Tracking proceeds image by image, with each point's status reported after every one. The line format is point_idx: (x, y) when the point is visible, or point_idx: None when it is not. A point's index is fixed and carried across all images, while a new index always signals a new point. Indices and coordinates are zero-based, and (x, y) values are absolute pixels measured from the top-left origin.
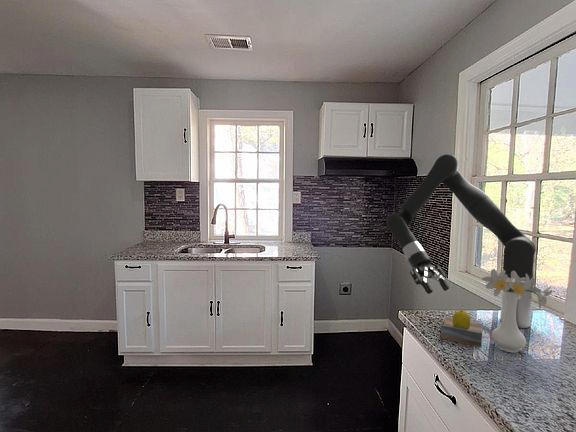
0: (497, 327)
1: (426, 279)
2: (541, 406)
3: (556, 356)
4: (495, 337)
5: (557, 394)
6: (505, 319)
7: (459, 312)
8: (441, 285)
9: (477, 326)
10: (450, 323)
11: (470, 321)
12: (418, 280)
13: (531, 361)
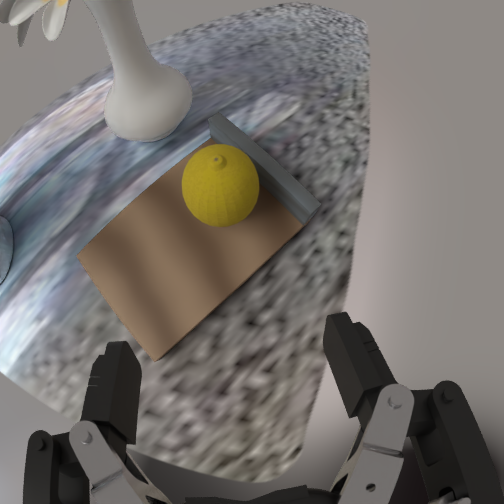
0: (152, 100)
1: (371, 423)
2: (301, 16)
3: (96, 86)
4: (188, 100)
5: (247, 18)
6: (148, 53)
7: (237, 161)
8: (135, 412)
9: (113, 235)
10: (193, 292)
11: (97, 283)
12: (454, 402)
13: None
